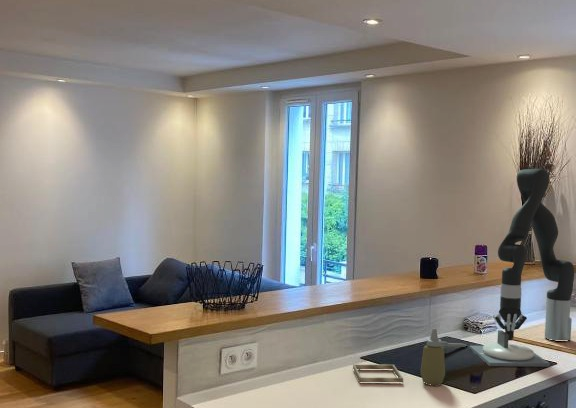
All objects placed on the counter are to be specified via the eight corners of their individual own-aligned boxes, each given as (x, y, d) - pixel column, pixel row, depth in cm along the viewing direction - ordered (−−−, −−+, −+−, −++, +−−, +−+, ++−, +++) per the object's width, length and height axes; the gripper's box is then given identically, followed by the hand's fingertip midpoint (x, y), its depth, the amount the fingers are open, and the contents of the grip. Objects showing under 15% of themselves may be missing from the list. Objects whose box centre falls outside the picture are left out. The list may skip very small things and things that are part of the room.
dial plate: (524, 349, 258) (524, 345, 258) (549, 366, 236) (549, 362, 236) (469, 348, 257) (469, 345, 257) (489, 366, 235) (489, 362, 235)
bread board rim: (393, 370, 227) (393, 364, 227) (403, 384, 213) (403, 378, 213) (352, 370, 226) (353, 364, 226) (359, 383, 212) (359, 377, 212)
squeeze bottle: (414, 380, 217) (417, 326, 216) (435, 378, 220) (438, 325, 219) (428, 388, 209) (430, 332, 208) (450, 386, 212) (452, 331, 211)
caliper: (436, 356, 247) (436, 339, 246) (433, 355, 247) (434, 339, 247) (467, 347, 260) (468, 331, 260) (465, 346, 261) (466, 331, 260)
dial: (542, 360, 238) (542, 343, 238) (493, 360, 237) (494, 342, 237) (519, 345, 258) (520, 329, 257) (474, 345, 256) (475, 328, 256)
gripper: (523, 293, 257) (521, 337, 258) (490, 293, 256) (488, 337, 257) (531, 297, 249) (529, 342, 251) (497, 297, 249) (495, 342, 250)
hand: (509, 339), depth 254 cm, fingers closed
